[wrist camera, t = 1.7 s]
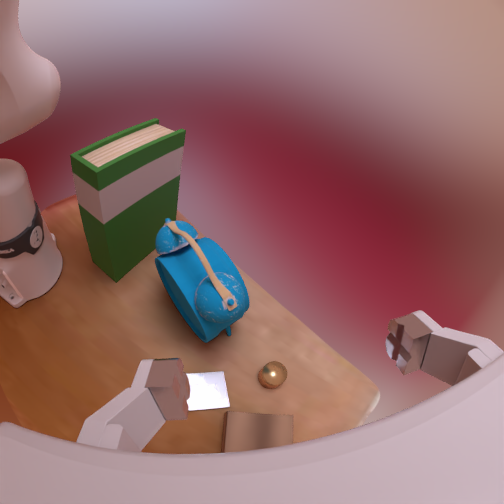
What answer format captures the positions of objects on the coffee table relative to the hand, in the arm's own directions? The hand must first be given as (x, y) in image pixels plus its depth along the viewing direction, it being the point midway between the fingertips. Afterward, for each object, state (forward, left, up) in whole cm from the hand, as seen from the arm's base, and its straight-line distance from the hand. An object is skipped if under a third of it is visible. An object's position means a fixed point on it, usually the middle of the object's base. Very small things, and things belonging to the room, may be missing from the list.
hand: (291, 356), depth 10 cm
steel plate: (-1, +6, -35) cm, 35 cm away
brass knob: (+10, +10, -34) cm, 37 cm away
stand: (+8, -2, -34) cm, 35 cm away
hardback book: (-19, +32, -34) cm, 51 cm away
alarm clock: (-4, +20, -34) cm, 40 cm away
